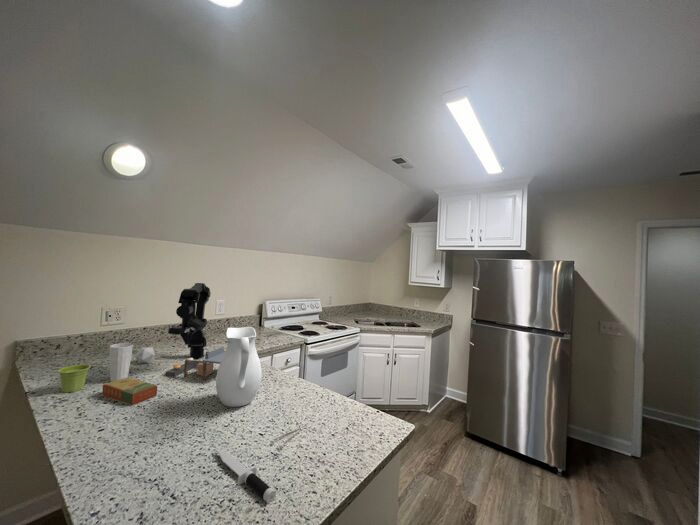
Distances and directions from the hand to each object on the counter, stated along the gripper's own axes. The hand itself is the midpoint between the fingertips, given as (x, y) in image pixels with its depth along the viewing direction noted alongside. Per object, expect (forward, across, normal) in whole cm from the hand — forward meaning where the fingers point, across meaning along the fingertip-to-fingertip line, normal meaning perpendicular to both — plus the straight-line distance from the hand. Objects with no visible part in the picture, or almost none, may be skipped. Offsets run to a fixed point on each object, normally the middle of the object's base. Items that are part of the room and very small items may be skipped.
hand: (186, 344), depth 141 cm
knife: (+12, -58, -68) cm, 90 cm away
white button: (+9, +2, 0) cm, 10 cm away
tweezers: (+12, -37, -75) cm, 84 cm away
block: (+13, -2, -13) cm, 18 cm away
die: (+13, +2, +27) cm, 30 cm away
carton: (+13, -31, -2) cm, 33 cm away
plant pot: (+12, -33, +24) cm, 42 cm away
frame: (+12, -2, -13) cm, 18 cm away
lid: (+4, -1, -22) cm, 23 cm away
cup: (+13, -20, +17) cm, 29 cm away
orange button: (+10, -6, 0) cm, 12 cm away
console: (+13, -2, 0) cm, 13 cm away
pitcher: (+12, -25, -46) cm, 54 cm away
